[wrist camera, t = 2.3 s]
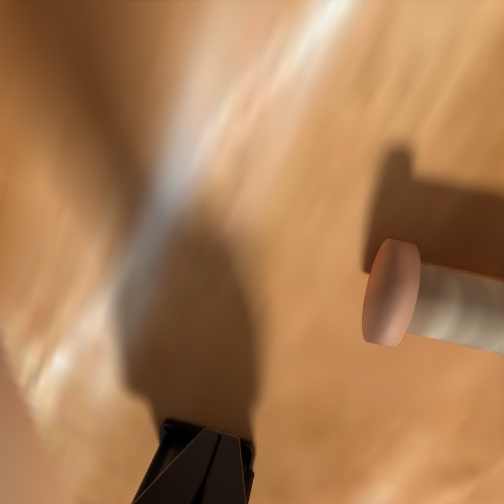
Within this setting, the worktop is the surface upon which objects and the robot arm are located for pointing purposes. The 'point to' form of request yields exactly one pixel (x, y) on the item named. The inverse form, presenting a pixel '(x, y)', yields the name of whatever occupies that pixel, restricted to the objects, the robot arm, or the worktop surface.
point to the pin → (430, 302)
